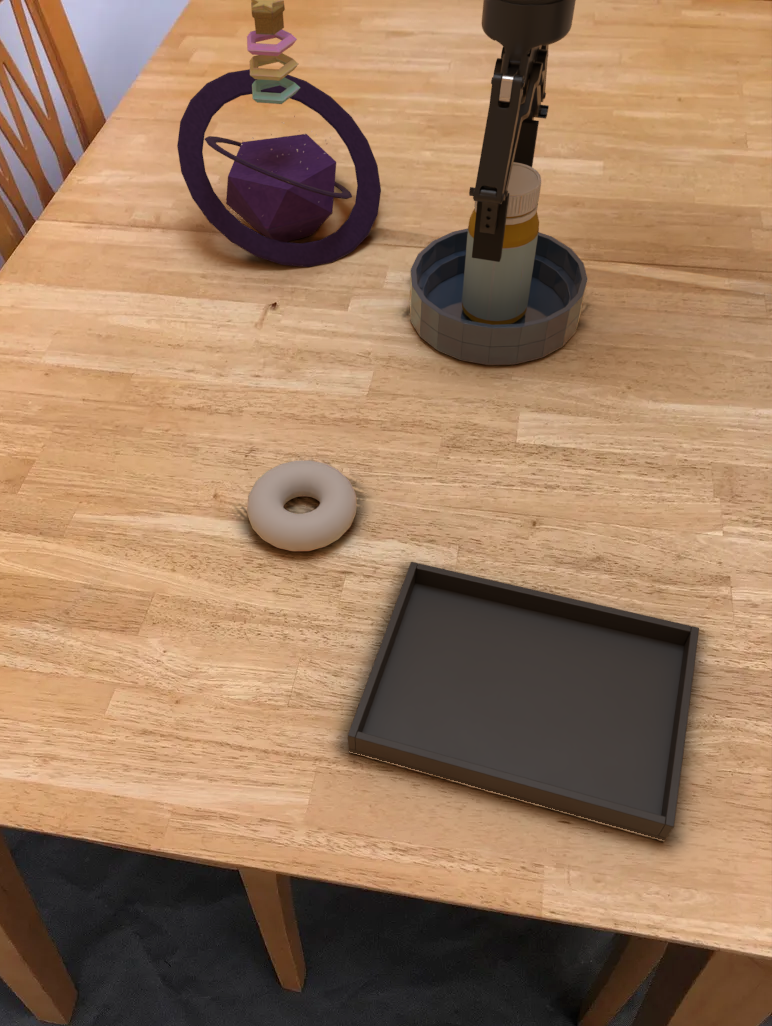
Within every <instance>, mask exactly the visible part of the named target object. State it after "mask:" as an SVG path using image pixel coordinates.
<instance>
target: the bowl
mask: <svg viewBox="0 0 772 1026" xmlns="http://www.w3.org/2000/svg"><path fill="white" fill-rule="evenodd" d="M467 234H468V227H467V228H463V229H458V230H455V231H451V232H448V233H446V234H445V235H442V236H441V237H438V238H436V239H434V240H432V241H431V242H429V244H428V245H427V246H425V247H424V248H423V249H422V250H421V251H419V253H417V255H416V257H415V259H414V261H413V263H412V265H411V268H410V275H409V276H410V277H409V279H410V282H409V318H410V319H409V320H410V323H411V325H412V326H413V327H414V329H415V331H416V333H417V334H418V336H419V338H420V339H422V340H423V341H425V342H426V343H427V344H428V345H430V346H431V347H432V348H433V349H435V350H436V351H438V352H440V353H442V354H444V355H447V356H449V357H452V358H454V359H457V360H459V361H464V362H468V363H473V364H480V365H486V366H504V365H507V366H508V365H518V364H523V363H527V362H531V361H534V360H535V361H536V360H538V359H543V358H545V357H546V356H548V355H550V354H552V353H554V352H556V351H557V350H559V349H561V348H563V347H564V346H565V345H566V344H567V342H569V340H570V339H571V338H572V337H573V336H574V335H575V334H576V332H577V329H578V326H579V322H580V319H581V314H582V310H583V305H584V300H585V296H586V291H587V284H588V281H589V280H588V279H589V277H588V275H587V271H586V267H585V264H584V262H583V261H582V259H581V258H580V257H579V256H578V255H577V253H576V252H575V251H574V249H572V247H570V246H568V245H566V244H565V243H563V242H562V241H560V240H558V239H557V238H555V237H554V236H552V235H548V234H546V233H543V232H540V231H538V238H537V245H536V252H535V258H534V265H533V272H532V279H531V285H530V292H529V299H528V306H527V310H526V313H525V314H524V316H523V317H522V318H520V319H519V320H518V321H516V322H515V323H513V324H498V325H492V324H485V323H479V322H473V321H472V320H471V319H470V318H469V317H468V316H467V315H466V314H465V313H464V311H463V308H462V295H463V283H464V271H465V259H466V246H467Z"/></svg>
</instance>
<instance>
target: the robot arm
mask: <svg viewBox="0 0 772 1026" xmlns="http://www.w3.org/2000/svg"><path fill="white" fill-rule="evenodd" d="M576 2H577V0H483V1H482V13H481V29H482V31H483V32H484V34H485V35H486V36H487V37H488V38H489V39H490V40H492V41H494V42H497V43H498V44H500V45H501V46H502V48H501V53H500V57H497V58H496V61H495V65H494V70H493V77H491V80H490V84H491V89H490V96H489V105H488V112H487V117H486V122H485V128H484V134H483V140H482V145H481V152H480V158H479V161H478V162H479V163H478V167H477V175H476V179H477V180H476V181H475V186H474V187H473V186H470V187H469V192H468V195H469V197H472V199H473V201H474V202H475V201H477V210H476V220H475V230H474V240H473V250H472V258H477V259H483V260H489V261H496V262H500V260H501V255H502V248H503V240H504V232H505V224H506V217H507V209H508V201H509V193H508V191H507V189H508V185H509V180H510V175H511V171H512V166H513V162H516V163H522V164H525V165H528V166H530V167H532V168H533V165H534V157H535V150H536V143H537V138H538V137H537V136H538V131H539V130H538V129H539V124H540V120H535V118H537V119H545V120H546V119H547V117H548V113H549V106H550V105H546V104H542V103H544V100H545V99H546V96H547V93H546V86H547V73H548V58H549V46H550V45H552V44H555V43H557V42H559V41H562V39H564V38H565V37H566V36H568V34H569V32H570V31H571V29H572V25H573V20H574V13H575V7H576Z"/></svg>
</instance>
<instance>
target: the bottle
mask: <svg viewBox="0 0 772 1026" xmlns="http://www.w3.org/2000/svg"><path fill="white" fill-rule="evenodd" d="M476 180H477V178H476ZM541 188H542V176H541V174H540V173H539V171H538V170H537V169H535V168H534V167H533V166H532V167H530V166H528V165H525V164H522V163H516V162H513V166H512V171H511V175H510V180H509V185H508V189H507V191H508V193H509V201H508V209H507V217H506V224H505V232H504V240H503V248H502V255H501V260H500V262H496V261H489V260H483V259H477V258H472V250H473V240H474V230H475V220H476V210H477V201H474V205H473V206H474V208H473V210H472V213H471V215H470V217H469V219H468V225H467V228H468V234H467V246H466V259H465V271H464V283H463V295H462V308H463V311H464V313H465V314H466V315H467V316H468V317H469V318H470V319H471V320H472V321H473V322H479V323H485V324H492V325H498V324H513V323H515V322H516V321H518V320H519V319H520V318H522V317H523V316H524V314H525V313H526V310H527V306H528V299H529V292H530V285H531V279H532V272H533V265H534V258H535V252H536V245H537V238H538V232H540V231H539V229H540V220H539V214H538V207H539V200H540V194H541Z"/></svg>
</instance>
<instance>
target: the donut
mask: <svg viewBox="0 0 772 1026" xmlns="http://www.w3.org/2000/svg"><path fill="white" fill-rule="evenodd" d="M298 497H308V498H313V499H314V500H317V501H318V502H319V504H318V506H317V507H316V508H315V509H312V510H310V511H308V512H304V513H303V512H301V513H295V512H292V511H289V510H287V509H286V508H285V507H284V506H285V505H286V503H288V502H290V501H291V500H292V499H295V498H298ZM357 498H358V497H357V493H356V491H355V489H354V487H353V484H352V482H351V481H350V480H349V478H348V477H347V476H346V475H344V474H343V473H342V472H341V471H340V470H339V469H338V468H336V467H333V466H331V465H329V464H328V463H325V462H320V461H315V460H313V459H312V460H311V459H304V460H303V459H301V460H291V461H288V462H283V463H280V464H277V465H275V466H274V467H272V468H270V469H268V470H267V471H265V472H264V473H263V474H262V475H261V476H260V477H259V478H257V479H256V480H255V482H254V484H253V485H252V487H251V489H250V491H249V493H248V495H247V502H246V503H247V505H246V515H247V517H248V520H249V523H250V526H251V529H252V530H253V531H254V532H255V533H256V534H257V535H258V536H259V537H260V538H261V539H262V540H263V541H265V542H266V543H268V544H269V545H271V546H273V547H275V548H277V549H281V550H286V551H290V552H311V551H314V550H318V549H322V548H325V547H327V546H329V545H331V544H332V543H335V542H336V541H338V540H339V539H340V538H341V537H342V536H343V535H344V534H345V533H346V532H347V531H348V530H349V529H350V528H351V526H352V524H353V522H354V518H355V517H356V515H357V510H358V509H357V508H358V505H357V503H358V501H357Z"/></svg>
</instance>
